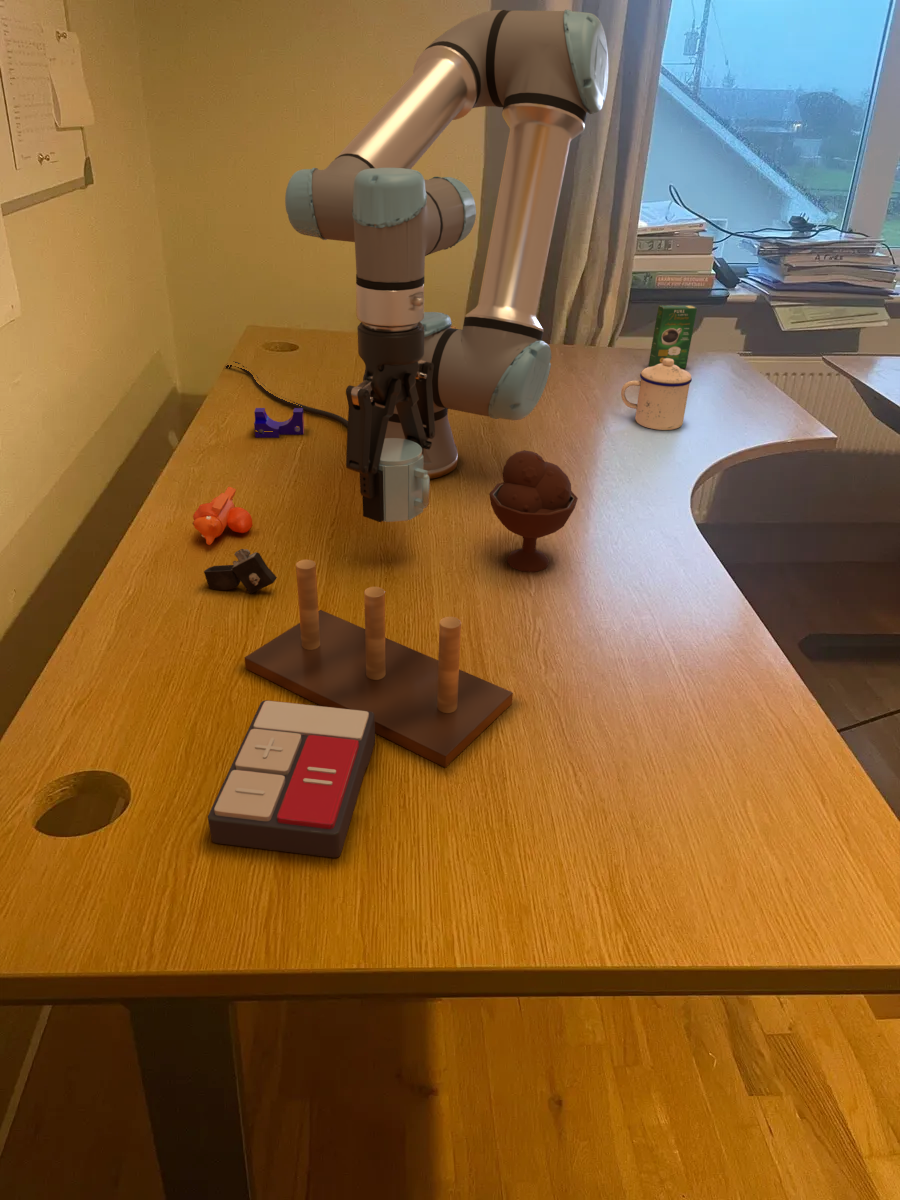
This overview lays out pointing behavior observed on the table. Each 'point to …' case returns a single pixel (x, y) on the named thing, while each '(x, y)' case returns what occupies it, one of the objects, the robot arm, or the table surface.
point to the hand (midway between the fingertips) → (393, 506)
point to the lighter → (241, 573)
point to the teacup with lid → (660, 396)
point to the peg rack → (381, 675)
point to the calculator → (295, 779)
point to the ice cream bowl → (532, 505)
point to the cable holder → (278, 424)
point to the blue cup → (403, 480)
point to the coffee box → (672, 334)
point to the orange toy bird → (221, 517)
